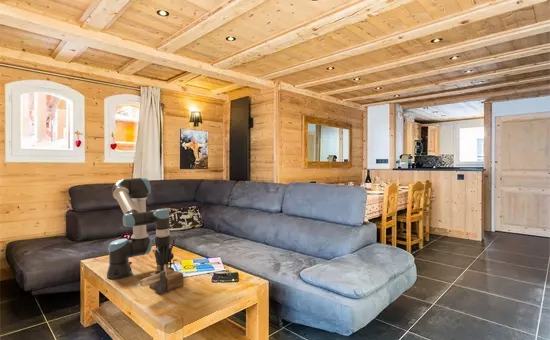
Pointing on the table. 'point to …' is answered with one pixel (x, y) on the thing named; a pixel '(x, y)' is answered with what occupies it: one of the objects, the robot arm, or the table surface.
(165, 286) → the toolbox
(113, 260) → the robot arm
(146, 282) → the wooden stick
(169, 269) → the music box
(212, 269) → the table surface
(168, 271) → the lid
